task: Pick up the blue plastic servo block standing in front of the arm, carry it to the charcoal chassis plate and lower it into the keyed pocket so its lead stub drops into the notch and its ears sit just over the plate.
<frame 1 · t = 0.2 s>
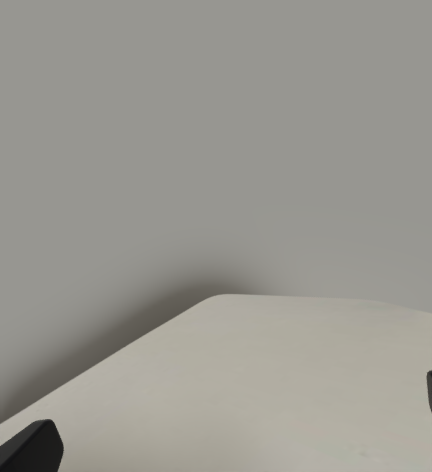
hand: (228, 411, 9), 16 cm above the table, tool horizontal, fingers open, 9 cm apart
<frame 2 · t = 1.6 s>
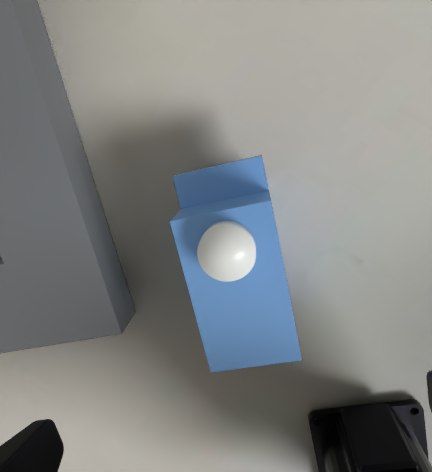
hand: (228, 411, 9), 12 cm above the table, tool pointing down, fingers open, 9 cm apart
servo: (242, 250, 20), on the table
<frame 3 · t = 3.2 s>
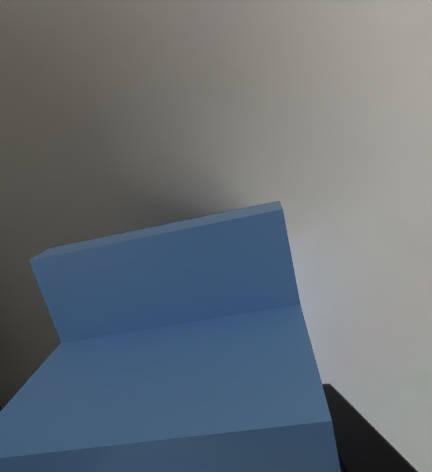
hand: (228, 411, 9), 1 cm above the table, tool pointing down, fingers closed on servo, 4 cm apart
servo: (231, 377, 10), on the table, touching gripper
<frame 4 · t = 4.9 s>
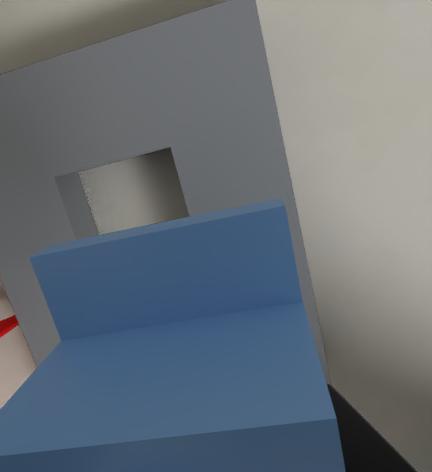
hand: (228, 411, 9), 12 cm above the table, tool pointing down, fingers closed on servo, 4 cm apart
servo: (232, 375, 10), point 11 cm above the table, touching gripper
chassis plate: (151, 237, 21), on the table
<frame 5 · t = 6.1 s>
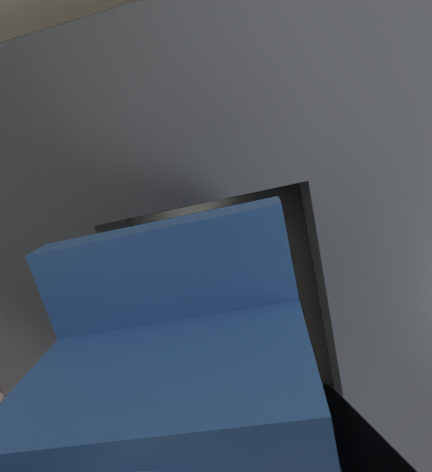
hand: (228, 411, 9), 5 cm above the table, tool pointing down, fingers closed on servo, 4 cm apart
servo: (230, 375, 10), point 4 cm above the table, touching gripper
chassis plate: (234, 309, 13), on the table
when the fingers open (3 cm above the table, at t = 6.8 s): servo drops 2 cm, resting in chassis plate.
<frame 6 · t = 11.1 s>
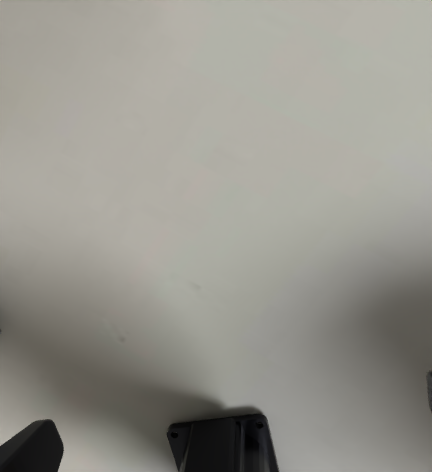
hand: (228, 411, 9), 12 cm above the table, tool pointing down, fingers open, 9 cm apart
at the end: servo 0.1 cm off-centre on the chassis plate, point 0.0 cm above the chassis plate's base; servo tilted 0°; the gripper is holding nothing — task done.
